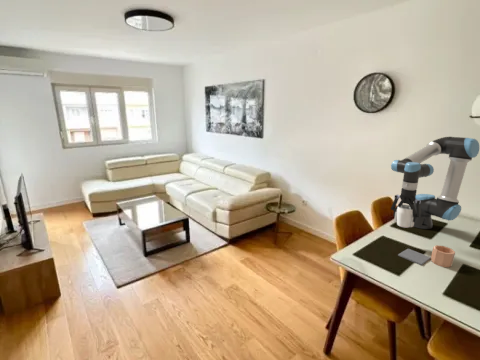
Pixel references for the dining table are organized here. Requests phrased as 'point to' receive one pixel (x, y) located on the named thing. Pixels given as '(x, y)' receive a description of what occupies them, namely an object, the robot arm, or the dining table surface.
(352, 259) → the dining table surface
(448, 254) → the pot
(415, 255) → the mat
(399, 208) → the cup
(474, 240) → the dining table surface
